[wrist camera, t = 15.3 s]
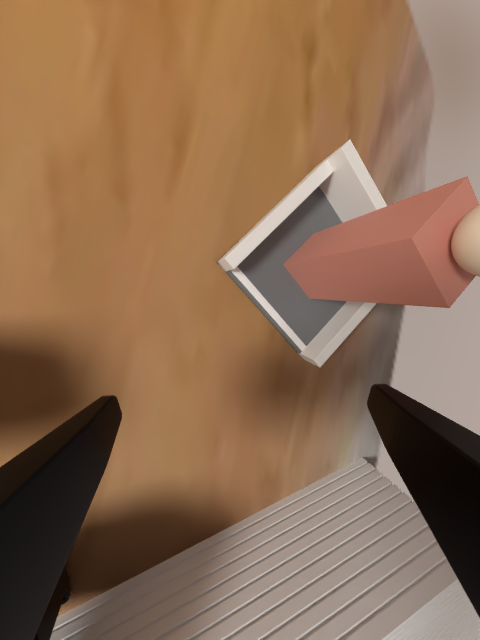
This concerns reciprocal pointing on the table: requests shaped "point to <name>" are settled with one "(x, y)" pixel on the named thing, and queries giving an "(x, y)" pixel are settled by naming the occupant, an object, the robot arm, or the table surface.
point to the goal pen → (287, 237)
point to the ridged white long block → (296, 576)
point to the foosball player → (397, 252)
